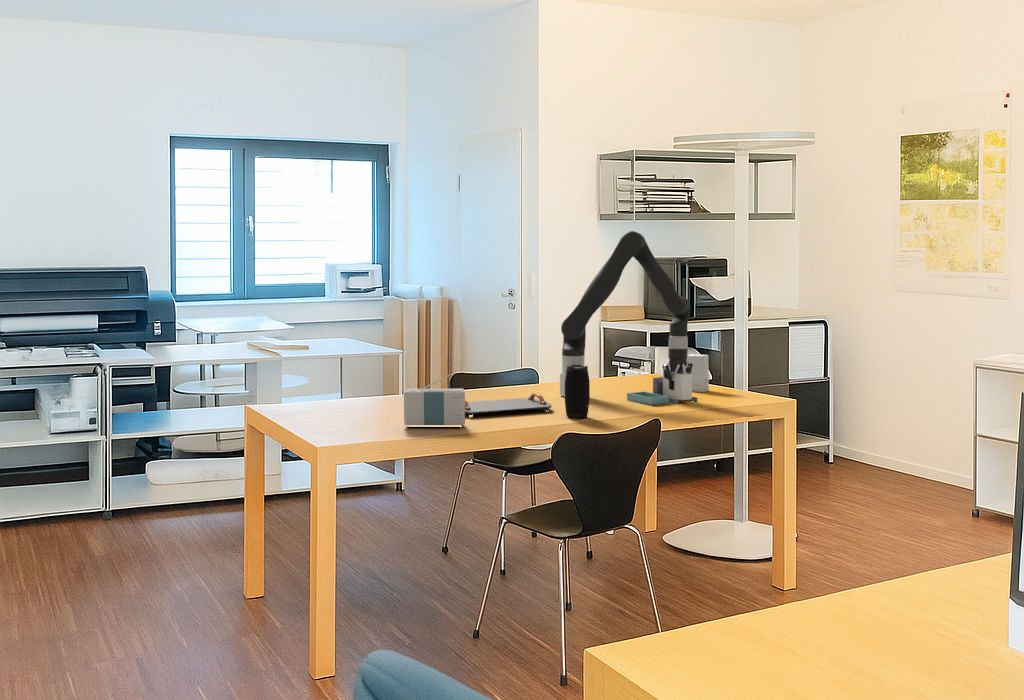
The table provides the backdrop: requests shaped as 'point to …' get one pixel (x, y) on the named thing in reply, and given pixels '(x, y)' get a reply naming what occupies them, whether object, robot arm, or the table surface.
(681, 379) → the light grey block
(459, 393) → the stereo radio cassette player
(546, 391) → the table surface
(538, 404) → the serving board
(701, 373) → the skincare box
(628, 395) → the tray
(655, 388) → the bay
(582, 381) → the portable speaker
